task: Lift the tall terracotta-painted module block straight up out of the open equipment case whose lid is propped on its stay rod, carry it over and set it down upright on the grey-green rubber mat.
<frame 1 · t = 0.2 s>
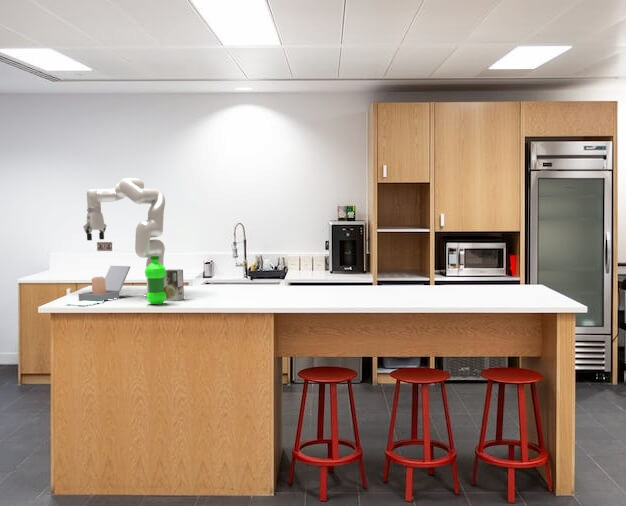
hand: (95, 239, 422), 31 cm above the table, tool pointing down, fingers open, 9 cm apart
mat: (84, 303, 378), on the table
case: (99, 299, 392), on the table
module: (99, 299, 392), resting in case
coffee box: (174, 300, 386), on the table
plastic bottle: (156, 304, 372), on the table
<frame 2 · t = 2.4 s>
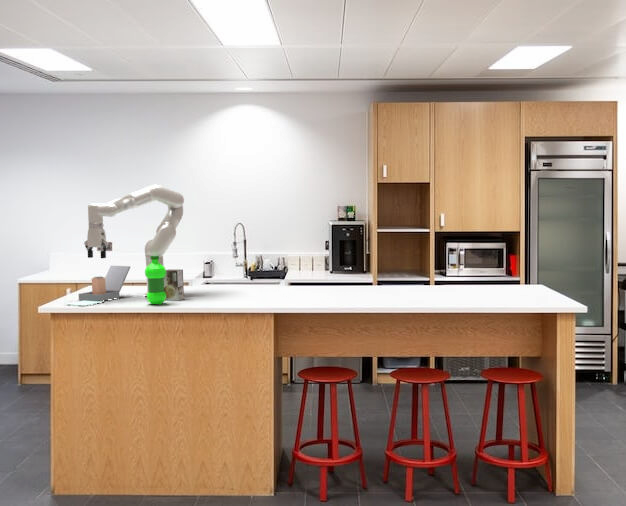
hand: (96, 257, 390), 23 cm above the table, tool pointing down, fingers open, 9 cm apart
nothing on the table moved.
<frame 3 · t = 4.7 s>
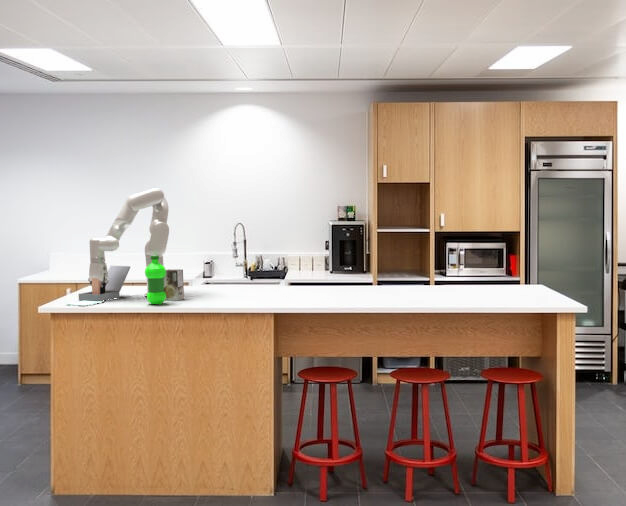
hand: (99, 293, 391), 3 cm above the table, tool pointing down, fingers closed on module, 5 cm apart
module: (99, 299, 392), resting in case, touching gripper
everything else where it was.
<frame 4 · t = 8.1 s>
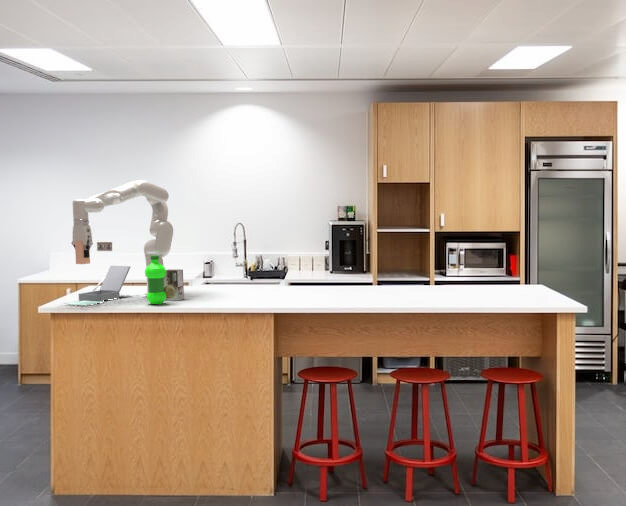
hand: (82, 257, 376), 25 cm above the table, tool pointing down, fingers closed on module, 5 cm apart
module: (83, 263, 376), point 21 cm above the table, touching gripper
everything else where it was.
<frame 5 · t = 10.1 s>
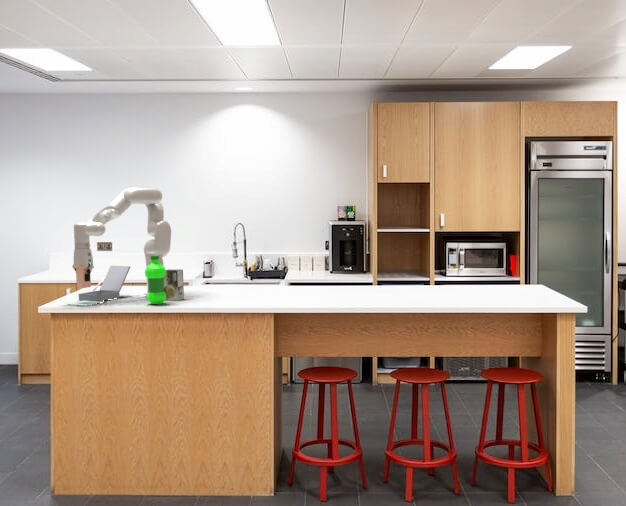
hand: (83, 280, 377), 12 cm above the table, tool pointing down, fingers closed on module, 5 cm apart
module: (83, 287, 377), point 9 cm above the table, touching gripper
everything else where it was.
when the fingers open (6 cm above the table, at t = 11.8 s): module drops 2 cm, resting on mat.
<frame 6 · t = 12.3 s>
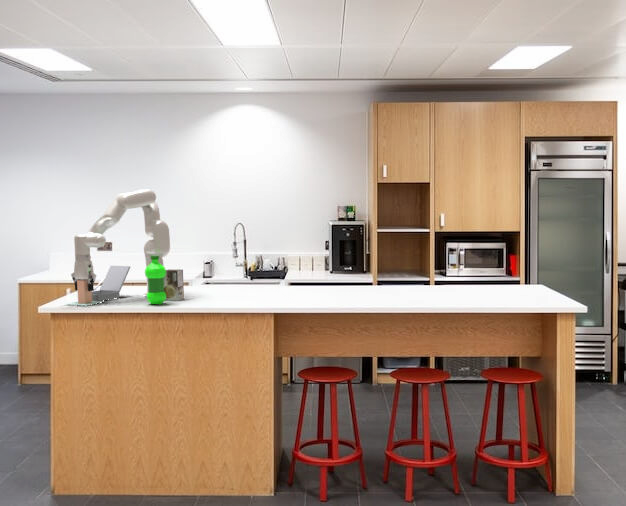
hand: (84, 290, 377), 7 cm above the table, tool pointing down, fingers open, 9 cm apart
module: (85, 302, 378), point 1 cm above the table, touching mat
everything else where it was.
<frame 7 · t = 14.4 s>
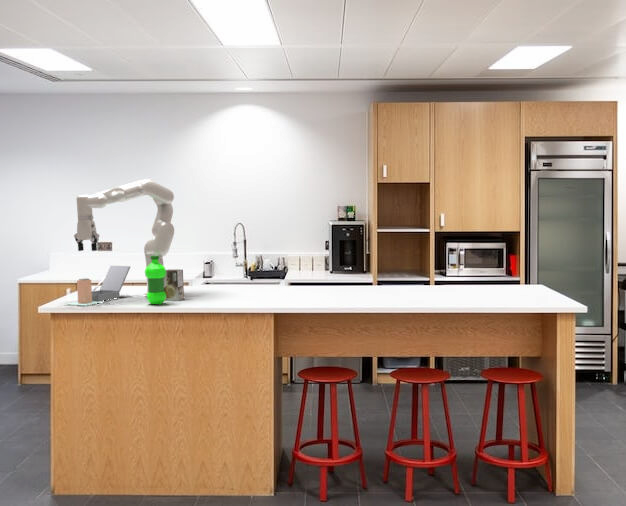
hand: (87, 250, 381), 28 cm above the table, tool pointing down, fingers open, 9 cm apart
nothing on the table moved.
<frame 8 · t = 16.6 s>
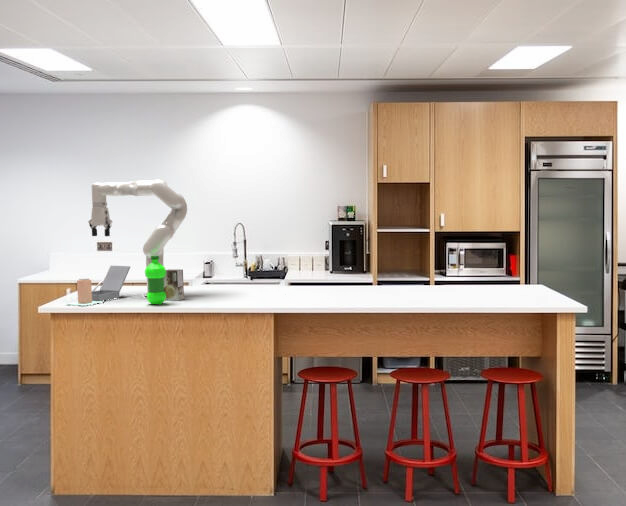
hand: (100, 236, 398), 34 cm above the table, tool pointing down, fingers open, 9 cm apart
nothing on the table moved.
at the end: module inside the target area on the mat (0.1 cm from its centre), point 0.6 cm above the mat's base; module tilted 0°; the gripper is holding nothing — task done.
